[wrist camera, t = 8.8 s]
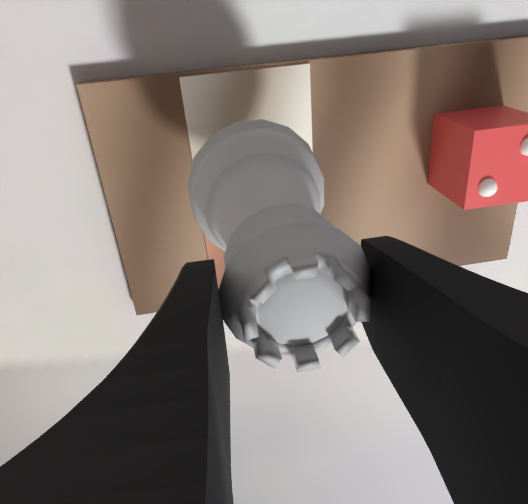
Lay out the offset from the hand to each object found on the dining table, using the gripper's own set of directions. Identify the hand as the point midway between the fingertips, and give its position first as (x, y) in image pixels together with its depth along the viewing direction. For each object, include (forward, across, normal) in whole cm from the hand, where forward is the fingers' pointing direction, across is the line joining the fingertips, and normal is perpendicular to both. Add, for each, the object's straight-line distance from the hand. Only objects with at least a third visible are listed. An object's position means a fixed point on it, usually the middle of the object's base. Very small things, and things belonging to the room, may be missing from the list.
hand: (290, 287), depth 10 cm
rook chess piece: (+6, 0, 0) cm, 7 cm away
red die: (+10, -9, 0) cm, 14 cm away
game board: (+10, -3, +1) cm, 11 cm away
